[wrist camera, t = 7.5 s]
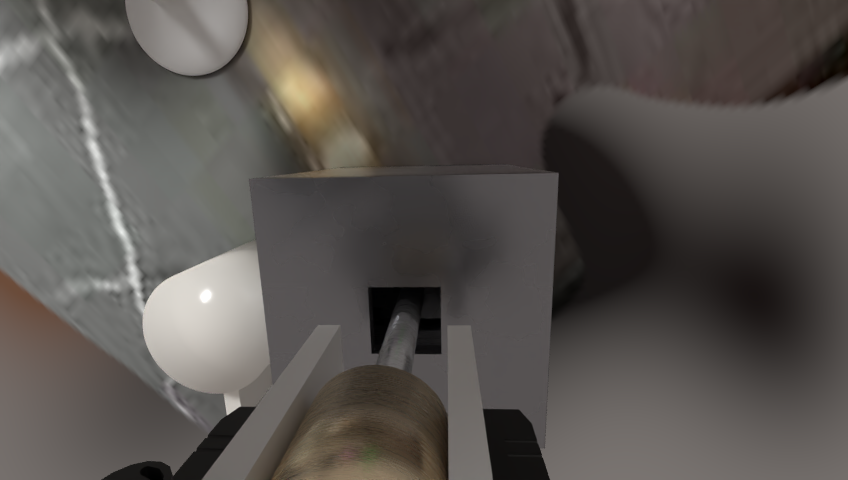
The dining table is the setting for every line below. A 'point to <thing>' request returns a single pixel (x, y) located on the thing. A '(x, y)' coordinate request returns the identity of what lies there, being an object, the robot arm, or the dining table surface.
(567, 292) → the dining table surface
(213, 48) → the wineglass
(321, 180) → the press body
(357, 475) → the plunger
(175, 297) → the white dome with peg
